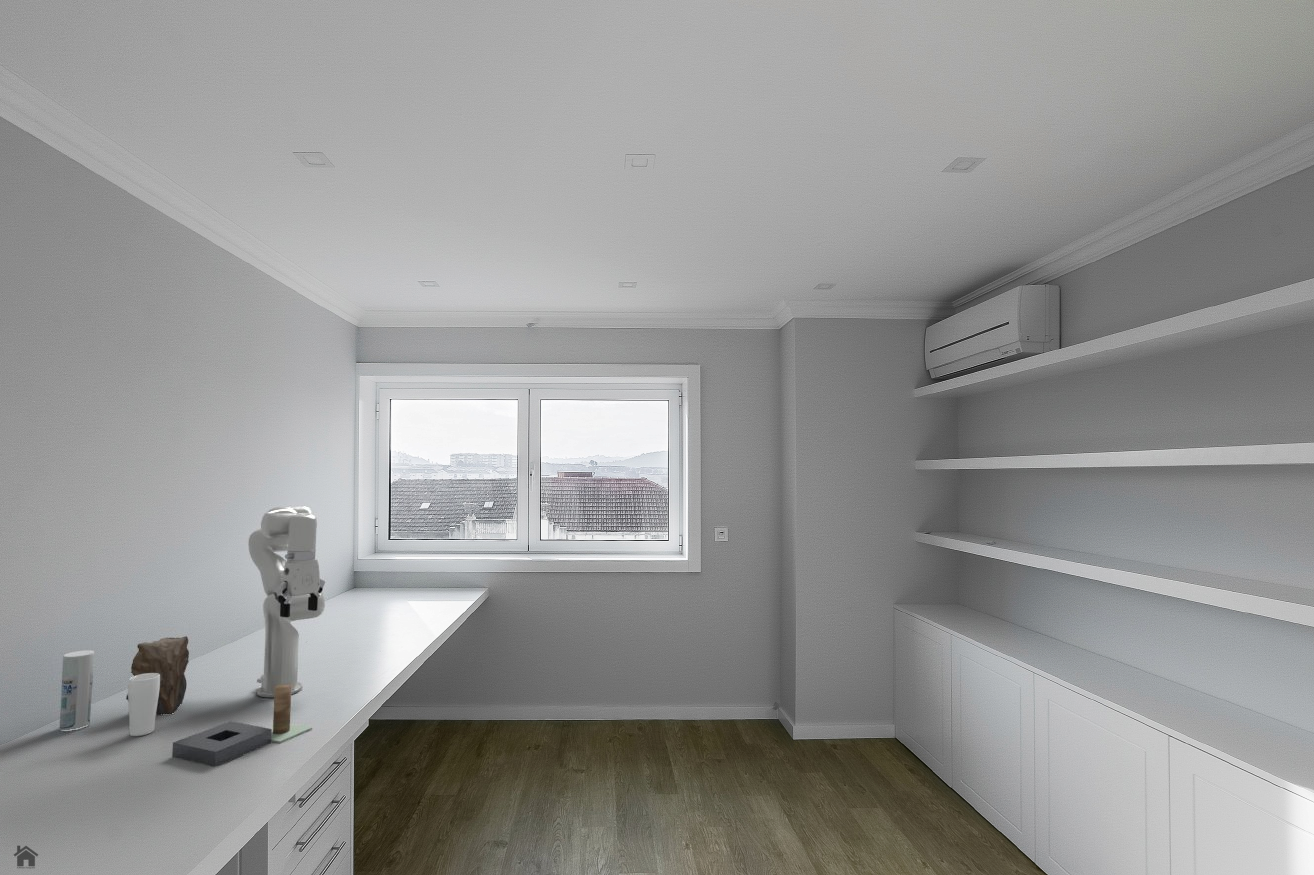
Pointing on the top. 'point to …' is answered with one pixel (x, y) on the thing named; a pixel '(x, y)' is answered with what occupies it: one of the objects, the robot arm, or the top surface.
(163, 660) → the jagged brown boulder
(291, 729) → the set down mat
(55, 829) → the top surface
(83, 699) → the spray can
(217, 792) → the top surface
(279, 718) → the tan rounded cylinder
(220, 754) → the dark grey socket block
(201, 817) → the top surface
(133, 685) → the drinking glass
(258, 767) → the top surface
